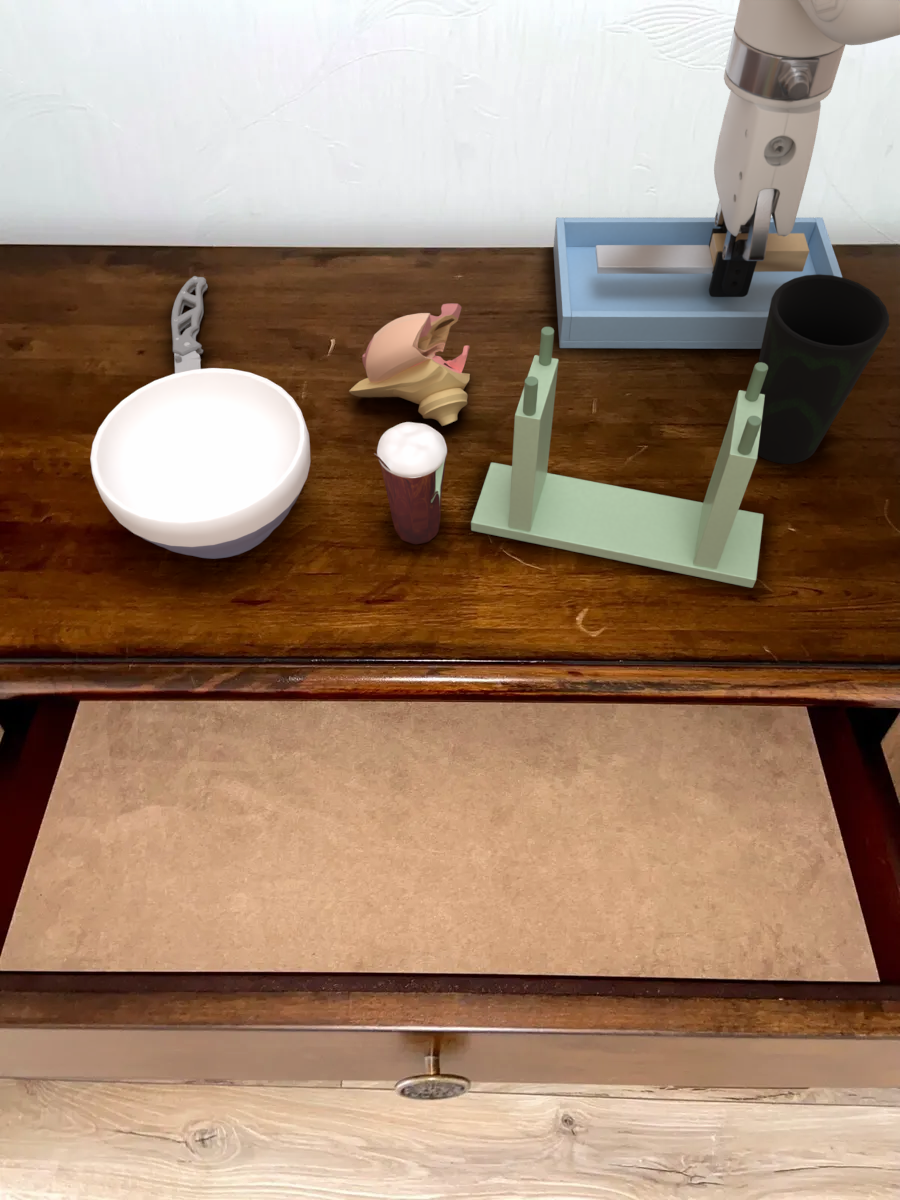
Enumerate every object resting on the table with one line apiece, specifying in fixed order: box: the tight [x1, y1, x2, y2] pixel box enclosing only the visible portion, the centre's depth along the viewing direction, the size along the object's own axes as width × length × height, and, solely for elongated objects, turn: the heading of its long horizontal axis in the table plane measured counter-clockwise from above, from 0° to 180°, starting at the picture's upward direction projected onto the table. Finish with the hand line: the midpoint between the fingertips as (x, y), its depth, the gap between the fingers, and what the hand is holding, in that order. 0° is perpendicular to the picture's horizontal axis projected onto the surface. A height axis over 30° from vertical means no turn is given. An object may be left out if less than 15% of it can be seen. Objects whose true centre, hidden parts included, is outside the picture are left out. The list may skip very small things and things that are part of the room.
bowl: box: [89, 367, 312, 560], centre depth 66 cm, size 14×14×8 cm
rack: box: [470, 326, 768, 589], centre depth 62 cm, size 20×6×14 cm, turn 75°
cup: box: [757, 274, 890, 465], centre depth 68 cm, size 8×8×12 cm
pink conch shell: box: [348, 303, 471, 427], centre depth 73 cm, size 9×10×10 cm
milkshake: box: [373, 421, 448, 545], centre depth 64 cm, size 4×5×10 cm
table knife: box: [595, 233, 809, 274], centre depth 79 cm, size 17×3×2 cm, turn 89°
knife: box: [170, 275, 208, 374], centre depth 79 cm, size 2×18×3 cm
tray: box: [552, 216, 844, 350], centre depth 81 cm, size 23×13×3 cm, turn 89°
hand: (725, 281), depth 81 cm, fingers closed on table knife, 2 cm apart
